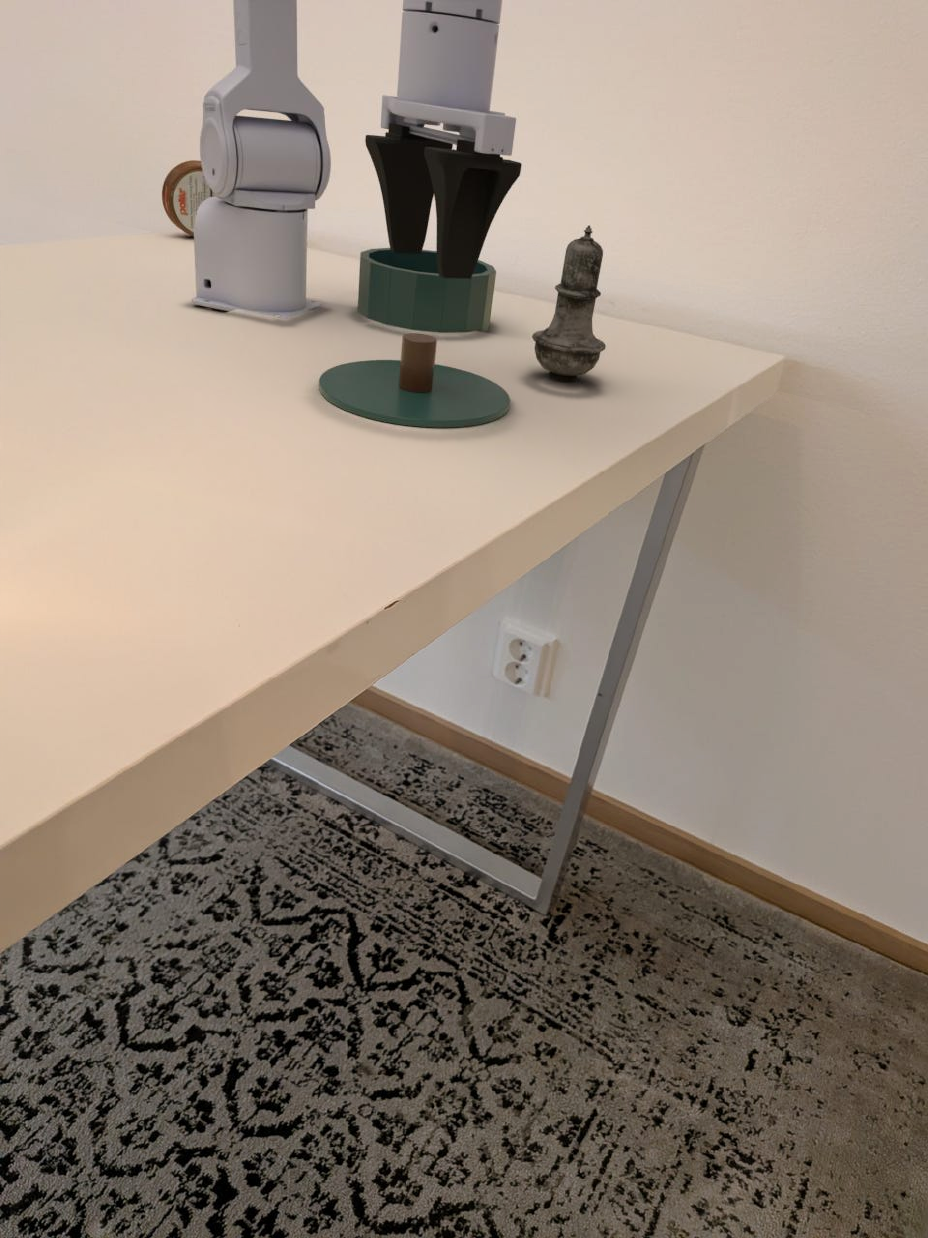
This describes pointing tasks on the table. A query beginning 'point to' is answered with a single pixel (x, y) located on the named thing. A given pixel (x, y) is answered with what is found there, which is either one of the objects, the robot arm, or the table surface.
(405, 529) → the table surface
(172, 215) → the tin
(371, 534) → the table surface
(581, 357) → the salt shaker
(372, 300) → the canister
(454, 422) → the lid
